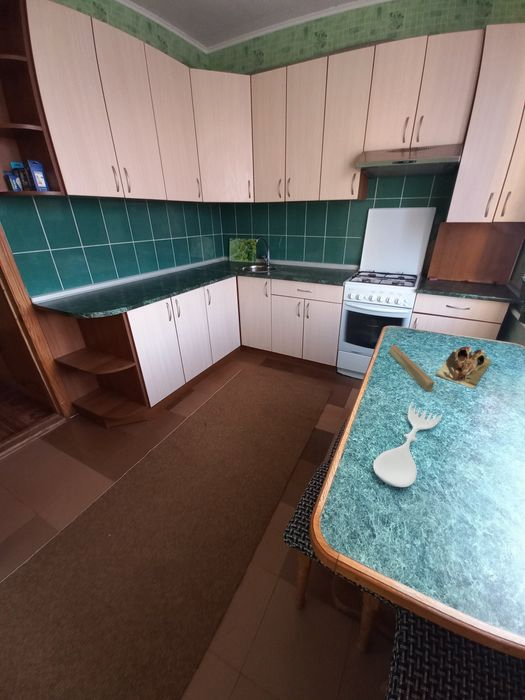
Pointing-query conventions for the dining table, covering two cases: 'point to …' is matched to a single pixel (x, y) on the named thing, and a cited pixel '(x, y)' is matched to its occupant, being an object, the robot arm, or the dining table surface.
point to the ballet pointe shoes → (465, 366)
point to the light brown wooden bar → (412, 368)
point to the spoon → (403, 453)
